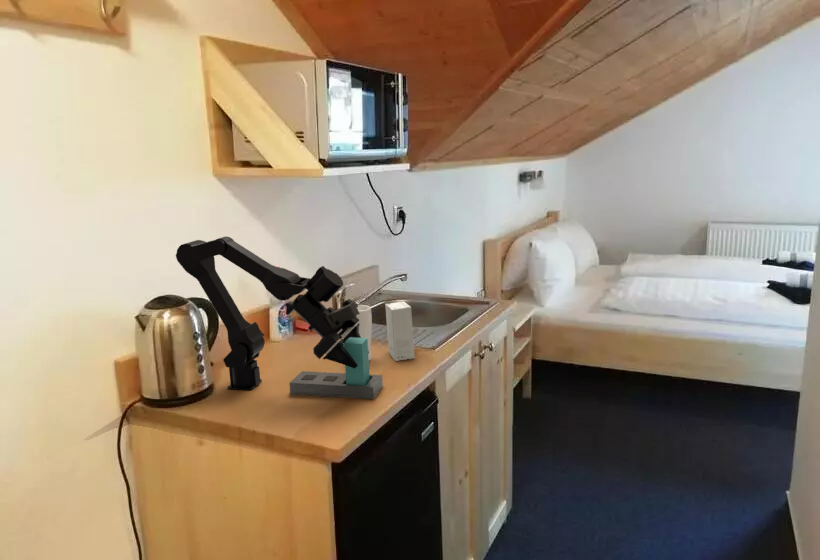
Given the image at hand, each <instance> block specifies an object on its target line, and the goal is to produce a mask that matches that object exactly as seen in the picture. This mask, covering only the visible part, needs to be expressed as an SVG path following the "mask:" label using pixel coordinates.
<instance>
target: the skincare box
mask: <svg viewBox="0 0 820 560" xmlns="http://www.w3.org/2000/svg"><path fill="white" fill-rule="evenodd" d="M384 305H385V317H386V331H387V333H386V335H387V345H388V348H387V349H388V354H389V355H390V356H391V357H392V359H394V361H395V362H399V361H406V360H407V359H409V360H414V359H416V358H415V343H414V332H413V331H414V330H413V317H412V315H413V314H412V307H411V305H409V304H408V303H407V302H405V301H396V302H390V303H385V304H384ZM413 358H414V359H413ZM407 361H408V360H407Z"/></svg>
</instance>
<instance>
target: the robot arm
mask: <svg viewBox="0 0 820 560" xmlns="http://www.w3.org/2000/svg"><path fill="white" fill-rule="evenodd" d="M215 256H216V257H217V256H221V257H222V258H224V259H225V260H227V261H229V262H231V263H232V264H233V265H235V266H237V267H238V268H240V269H242V270H243V271H244V272H246V273H248V274H249V275H250V276H252V277H254V278H256V279H257V280H258V281H260V283H262V285H263V286H264V288H265V289H266V291H268V292H269V294H271V295H272V296H273V297H274V298H275V299H276V300H278V301H287V303H285V315H287V316H289V315H291V314H293V312H296V314H298V315H299V317H301V319H302V320H303V321H305V322H306V323H307V325H308V327H307V329H308V330H309V331H310V332H311V331H313V330H314V331H315V332H316V334H318V335H319V336H320V337H321V339H320V340H319V342H317V344H316V345H315V346H314V347H313V348H312V349H313V355H315V357H317V359H318V360H320V359H323V360H327V361H331V362H335V363H338V364H341V365H344V366H345V365H346V366H349V367H352V368H356V367H357V366H358V364H357V363H356V362H355V360H354V359H353V358H352V357H351V355H350V354H349V353H348V352H347V350H346V349H345V348H344V342H345V341H346V340H347V339H348V338H349V337H353V338H361V336H360V334H359V325H360V324H359V323H358V324H357V325H356V326H354V325H355V324H356V323H357V322H358V321H359V319H358V318H357V317H356V315H357V314H360V313H359V311H358V309H357V307H358V305H359V304H358V303H356V301H353V300H352V299H351V298H347V299H346V300H344V301H342V303H341V306H340V307H339V308H337V309H334V308H333V307H331V306H330V307H328V308H327V307H326V306H325V305H324V304H323V303H322V302H324V303H327V302H329V301H330V300H331V299H332V298H333V297H334V296H335V295H336V294H337V293H338V291H339V290H341V288H342V287H344V281H343V279H342V277H340V275H339V274H338V273H337V272H334V271H332V270H331V269H329V268H326V267H325V266H324V265H322V266H320V267H318V269H317V270H316V271H315V273H314V274H313V276H311V278H310V277H304V276H300V275H299V274H298V273H296V272H293V271H291V270H289V269H286V268H284V267H280V266H275V265H273V264H271V263H270V262H267V261H266V260H265V259H263V258H261V257H260V256H258V255H256V254H255V253H254V252H252V251H251V250H249V249H248V248H245V247H244V246H243V245H241V244H240V243H238V242H236V241H235V240H234V239H233V238H232V237H230V236H222V237H219V238H216V239H213V240H209V241H205V240H202V239H196V240H192V241H189V242H186V243H185V242H184V243H182V244H180V245H179V247H178V248H177V249H176V254H175V259H176V260H177V263H178V264H179V265H180V266H181V267H182V269H183V270H184V271H185V272H186V273H187V274H189V275H190V276H191V277H192V278H194V279H196V280H197V281H198V283H199V285H200V287H201V288H202V289H203V292H204V293H205V295H206V297H207V298H208V299H209V301H210V303H211V305H212V306H213V308H214V310H215V312H216V313H217V315H218V316H219V318H220V320H221V322H222V323H223V326H224V327H225V329H226V331H227V342H228V345H229V347H230V352H228V353H227V354H226V356H225V357H224V358H223V359H222V360H223V363H224V365H225V367H226V368H228V370H229V371H228V373H229V381H230V382H229V383H230V384H229V385H228V386H227V389H228V390H239V391H240V390H241V391H251V390H254V388H255V387H256V386H258V385H259V384H260V383H261V382H263V380H262V378H261V374H260V373H261V372H260V366H259V365H258V360H257V359H256V358H259V356H260V353H261V352H262V351H263V350H264V347H265V344H266V341H265V339H264V337H265V333H263V332H262V330H261V329H260V326H259V325H258V323H257V322H256V321H254V322H252V323H250V322H249V321H248V320H246V319H245V318H244V316H243V314H242V313H241V311H240V310H239V308H238V306H237V304H236V303H235V300H234V299H233V297H232V296H231V294H230V292H229V291H228V289H227V287H226V286H225V283H224V282H223V280H222V279H221V277H220V275H219V274H218V272H217V270H216V261H215ZM306 290H307V291H306ZM305 291H306V292H305ZM304 292H305V293H304ZM301 293H303V294H301ZM296 295H297V296H296ZM295 296H296V297H295ZM293 297H295V298H294V300H293V301H288V300H290V299H291V298H293ZM368 353H369V351H368ZM324 355H325V356H324ZM322 357H323V358H322Z"/></svg>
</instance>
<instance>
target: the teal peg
mask: <svg viewBox="0 0 820 560" xmlns="http://www.w3.org/2000/svg"><path fill="white" fill-rule="evenodd" d="M343 344H344V348H345V349H346V350H347V352H348V353H349V354H350V355H351V357H352V358H353V359H354V360H355V362H356V363H357V364H358V366H357V367H356V368H352V367H349V366H346V365H344V369H345V372H344V373H346V384H351V385H367V384H368V382H369V381H370V378H369V374H370V362H369V361H370V360H369V358H368V339H367V338H353V337H349V338H348V339H347V340H346V341H345V342H344V343H343Z"/></svg>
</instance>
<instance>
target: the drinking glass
mask: <svg viewBox="0 0 820 560" xmlns="http://www.w3.org/2000/svg"><path fill="white" fill-rule="evenodd" d="M357 309H358V311H359V313H360V314H357V315H356V317H357V318H358V319H359V321H358V322H357V323H356V324H355V325H354V326H356V325H357V324H358V323H359V324H360V325H359V334H360V336H361V338H367V339H368V351H369V353H368V358H369V361H371V359H372V352H371V351H372V329H373V328H372V327H373V326H372V325H373V323H372V322H373V318H372V308H371V306H369V305H366V304H358V307H357Z"/></svg>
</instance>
